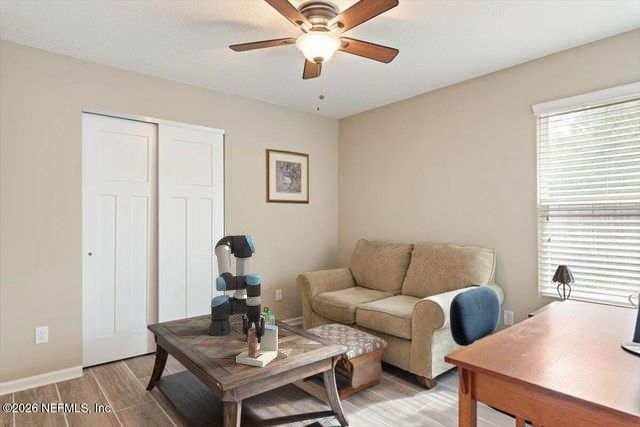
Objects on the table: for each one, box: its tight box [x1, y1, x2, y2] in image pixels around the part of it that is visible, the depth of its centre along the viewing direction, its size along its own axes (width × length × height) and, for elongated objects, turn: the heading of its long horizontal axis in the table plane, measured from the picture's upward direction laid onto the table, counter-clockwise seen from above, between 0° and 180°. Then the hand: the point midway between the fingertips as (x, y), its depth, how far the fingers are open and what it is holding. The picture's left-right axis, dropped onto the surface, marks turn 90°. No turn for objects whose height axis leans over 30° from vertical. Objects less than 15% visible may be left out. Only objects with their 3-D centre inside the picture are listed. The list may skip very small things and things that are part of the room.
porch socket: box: [235, 323, 279, 368], centre depth 192 cm, size 16×16×16 cm
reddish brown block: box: [247, 327, 259, 357], centre depth 188 cm, size 4×4×14 cm
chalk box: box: [259, 306, 276, 326], centre depth 240 cm, size 9×9×15 cm
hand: (253, 348), depth 189 cm, fingers closed on reddish brown block, 4 cm apart
